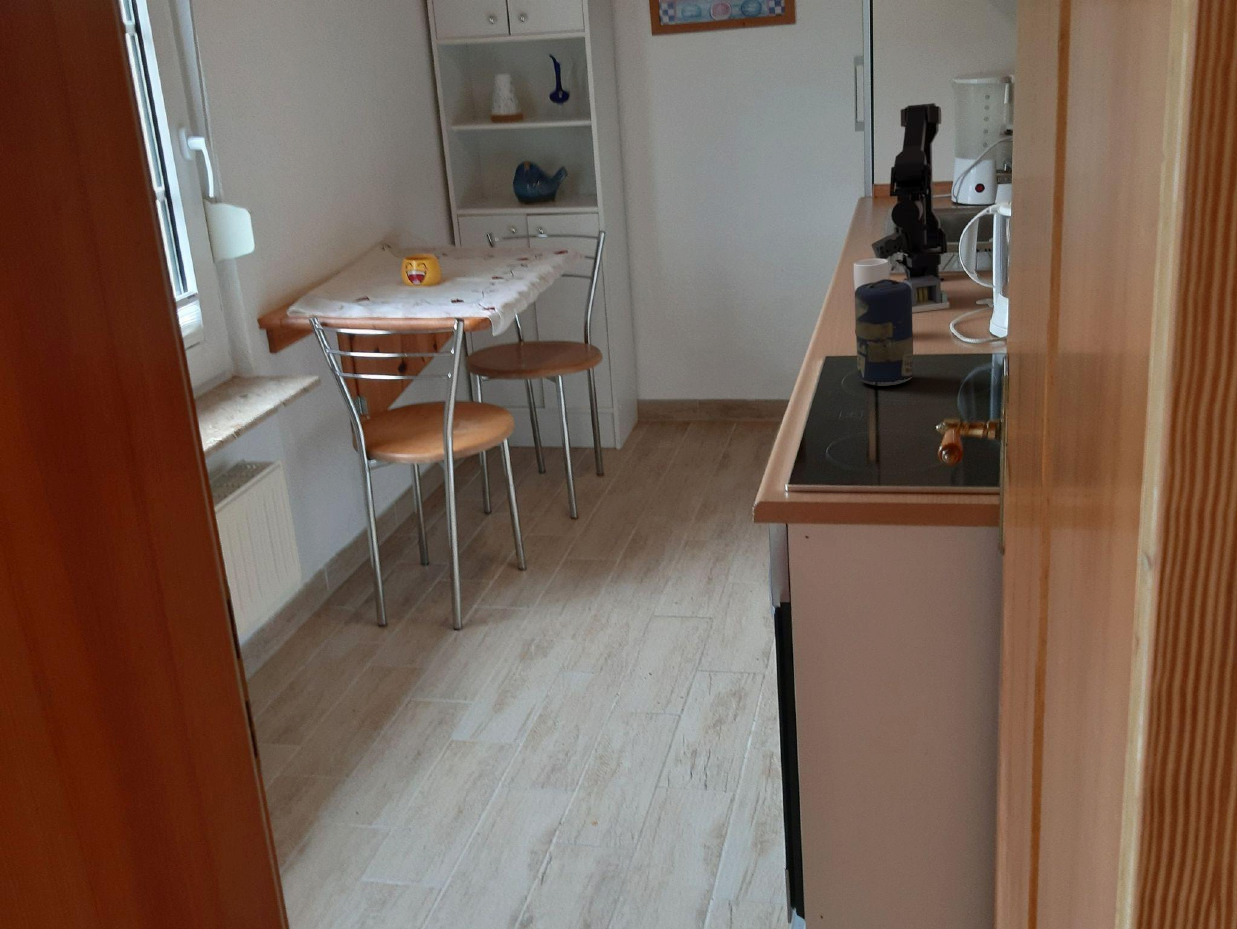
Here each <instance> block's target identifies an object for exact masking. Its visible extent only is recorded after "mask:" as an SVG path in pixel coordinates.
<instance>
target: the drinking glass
mask: <svg viewBox="0 0 1237 929" xmlns="http://www.w3.org/2000/svg"><path fill="white" fill-rule="evenodd" d="M882 279H890V280H891V278H890V262H889V260H888V259H879V258H868V259H860V260H857V261H855V262H854V263H853V284H854V285H853V286H854V292H855V291H856V289H857V288H858V287H859V286H861V285H864V284H867V283H872V282H877V281H880V280H882Z"/></svg>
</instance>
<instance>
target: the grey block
mask: <svg viewBox="0 0 1237 929" xmlns="http://www.w3.org/2000/svg"><path fill="white" fill-rule="evenodd" d="M902 281H903V282H904V283H906V284H908V285H909V286H910V287H911V290H912V307H915V306H916V288H917V294H918V288H919V287H922V291H923V287H927V288H928V300H929V299H930V300H931V301H933V302H935V303H937V304H938V303H941V290H942V289H941V288H942V287H941V280H940V279H938V278H936V277H934V276H932V275H928V276H920V277H913V278H907V277H905V278H902Z"/></svg>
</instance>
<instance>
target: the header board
mask: <svg viewBox="0 0 1237 929" xmlns="http://www.w3.org/2000/svg"><path fill="white" fill-rule="evenodd" d="M943 309H944V310H945V309H950V302H949V301H948V293H947V292H946V291H944V290H942V289H941V303H938V304H937V303H935V302H933V301H931V300H930V299H929V300H928V288H927V287H923V291H922V287H919V288H918V294H917V288H916V306H915V307H912V314H913V313H922V312H928V311H935V310H936V311H937V310H943Z"/></svg>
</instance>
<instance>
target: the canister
mask: <svg viewBox="0 0 1237 929" xmlns="http://www.w3.org/2000/svg"><path fill="white" fill-rule="evenodd" d="M854 317H855V318H854V319H855V320H854V321H855V325H854V326H855V329H854V333H855V336H856V339H855V340H856V360H857V362H856V367H857V377H859V378H858V380H859V379H862V380H865V381H869V382H880V383H881V382H884V383H885V382H895V381H898V380H904V379H908V378H910V377H912V376H913V377H914V375H913V374H914V373H915V372H914V330H913V327H914V326H913V313H912V290H911V287H910V286H909V285H908V284H906V283H904V282H902V281H897V280H894V279H891V278H890V279H882V280H880V281H877V282H872V283H867V284H864V285H861V286H859V287H858V288H857V289H856V291H855V290H854Z"/></svg>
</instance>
